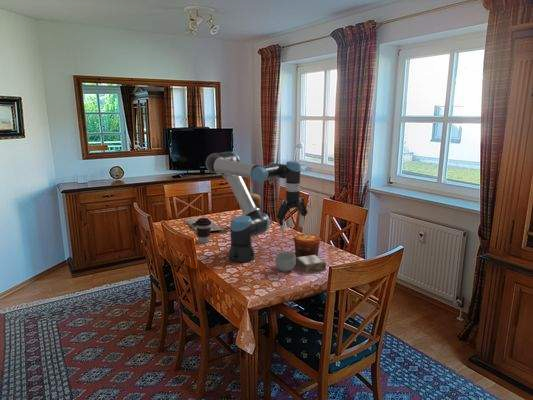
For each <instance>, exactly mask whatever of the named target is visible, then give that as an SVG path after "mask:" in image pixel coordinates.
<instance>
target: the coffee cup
mask: <svg viewBox="0 0 533 400" xmlns="http://www.w3.org/2000/svg"><path fill="white" fill-rule="evenodd" d="M198 218H199V219H198V221H196V222H195V223H196V225H197V231H196V235H197V241H198V243H200V244H208V243H210V241H211V232H212V231H211V226H210V224H211V221H212V220H211V219H210V218H209V219H210V220H209V219H208V217H207V218H200V217H198Z"/></svg>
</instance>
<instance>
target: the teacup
mask: <svg viewBox="0 0 533 400" xmlns="http://www.w3.org/2000/svg"><path fill="white" fill-rule="evenodd" d="M296 257H297V256H296V253H294V252H290V251H286V250H283V252H282V251H281V252H278V253H276V254H275V255H274V258H275V259H274V262H275V267H276V268H277V270H279V271H281V272H283V273H284V272H286V273H287V272H291V271H292V270H294V268H295V267H296Z"/></svg>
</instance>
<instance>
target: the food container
mask: <svg viewBox="0 0 533 400" xmlns="http://www.w3.org/2000/svg"><path fill="white" fill-rule="evenodd" d="M292 240H293V242H294V251H295V253H294V254H295V255H296V257H303V256H310V255H316V256H318V255H319V249H320V245H321V242H322V239H321V237H320V236H319V235H317V234H313V233H299V234H297V235H294V236H293V238H292ZM318 257H319V256H318Z"/></svg>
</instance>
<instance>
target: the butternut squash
mask: <svg viewBox="0 0 533 400" xmlns="http://www.w3.org/2000/svg"><path fill="white" fill-rule="evenodd" d="M250 195H251V197H252V199H253V201H254V203H255V205H256V207H257V208H260V210H261V209H262V197H261V195H259V194H257V193H254V192H253V193H250Z"/></svg>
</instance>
